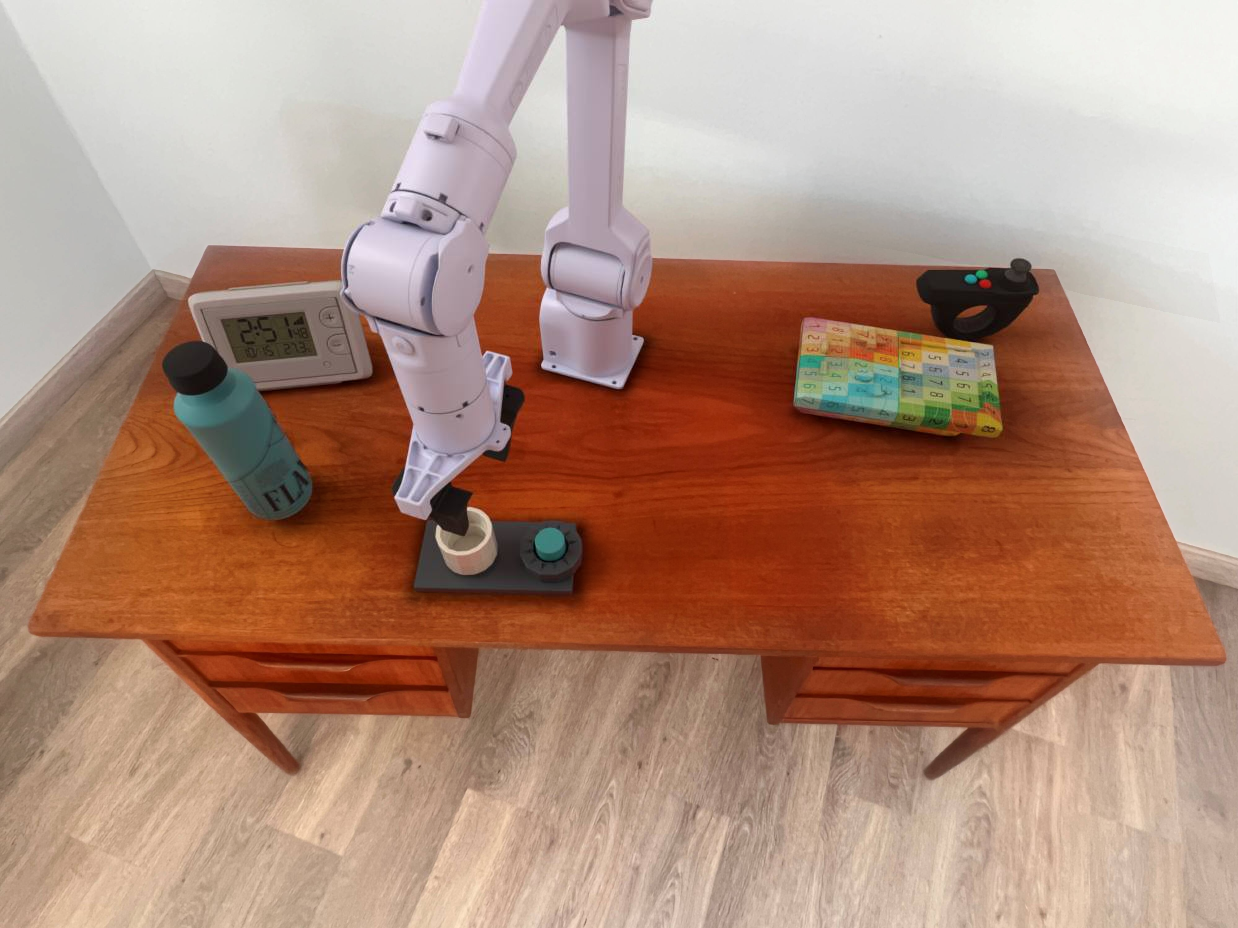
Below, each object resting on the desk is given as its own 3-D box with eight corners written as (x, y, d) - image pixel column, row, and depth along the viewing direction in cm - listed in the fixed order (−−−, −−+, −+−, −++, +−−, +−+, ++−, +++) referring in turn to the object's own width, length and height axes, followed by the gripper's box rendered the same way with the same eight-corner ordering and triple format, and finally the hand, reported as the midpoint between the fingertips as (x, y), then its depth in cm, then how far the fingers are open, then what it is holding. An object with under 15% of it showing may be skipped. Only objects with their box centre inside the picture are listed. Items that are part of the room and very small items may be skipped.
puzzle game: (805, 311, 80) (996, 339, 78) (796, 342, 84) (979, 369, 81) (797, 391, 73) (1007, 424, 71) (788, 421, 77) (987, 453, 75)
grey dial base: (415, 592, 66) (409, 579, 64) (429, 524, 70) (423, 510, 68) (580, 595, 66) (579, 583, 64) (584, 527, 70) (583, 513, 68)
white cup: (435, 568, 66) (425, 545, 63) (459, 524, 69) (451, 500, 65) (484, 584, 65) (476, 562, 62) (506, 539, 68) (500, 515, 65)
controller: (1012, 347, 83) (1055, 278, 75) (902, 345, 84) (933, 276, 75) (1002, 321, 86) (1042, 251, 78) (895, 319, 86) (924, 249, 78)
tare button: (535, 561, 65) (533, 552, 64) (537, 535, 67) (536, 527, 66) (564, 561, 65) (563, 553, 64) (566, 536, 67) (565, 527, 65)
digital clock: (216, 397, 79) (167, 324, 70) (246, 337, 84) (204, 262, 76) (365, 404, 78) (334, 332, 70) (386, 343, 84) (360, 269, 75)
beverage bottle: (285, 542, 69) (181, 403, 52) (235, 510, 71) (121, 366, 55) (335, 492, 72) (252, 347, 56) (287, 463, 74) (193, 314, 58)
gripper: (447, 481, 45) (481, 581, 56) (540, 324, 53) (554, 438, 64) (347, 450, 47) (399, 553, 58) (452, 301, 54) (480, 417, 66)
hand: (476, 491), depth 61 cm, fingers open, 7 cm apart
